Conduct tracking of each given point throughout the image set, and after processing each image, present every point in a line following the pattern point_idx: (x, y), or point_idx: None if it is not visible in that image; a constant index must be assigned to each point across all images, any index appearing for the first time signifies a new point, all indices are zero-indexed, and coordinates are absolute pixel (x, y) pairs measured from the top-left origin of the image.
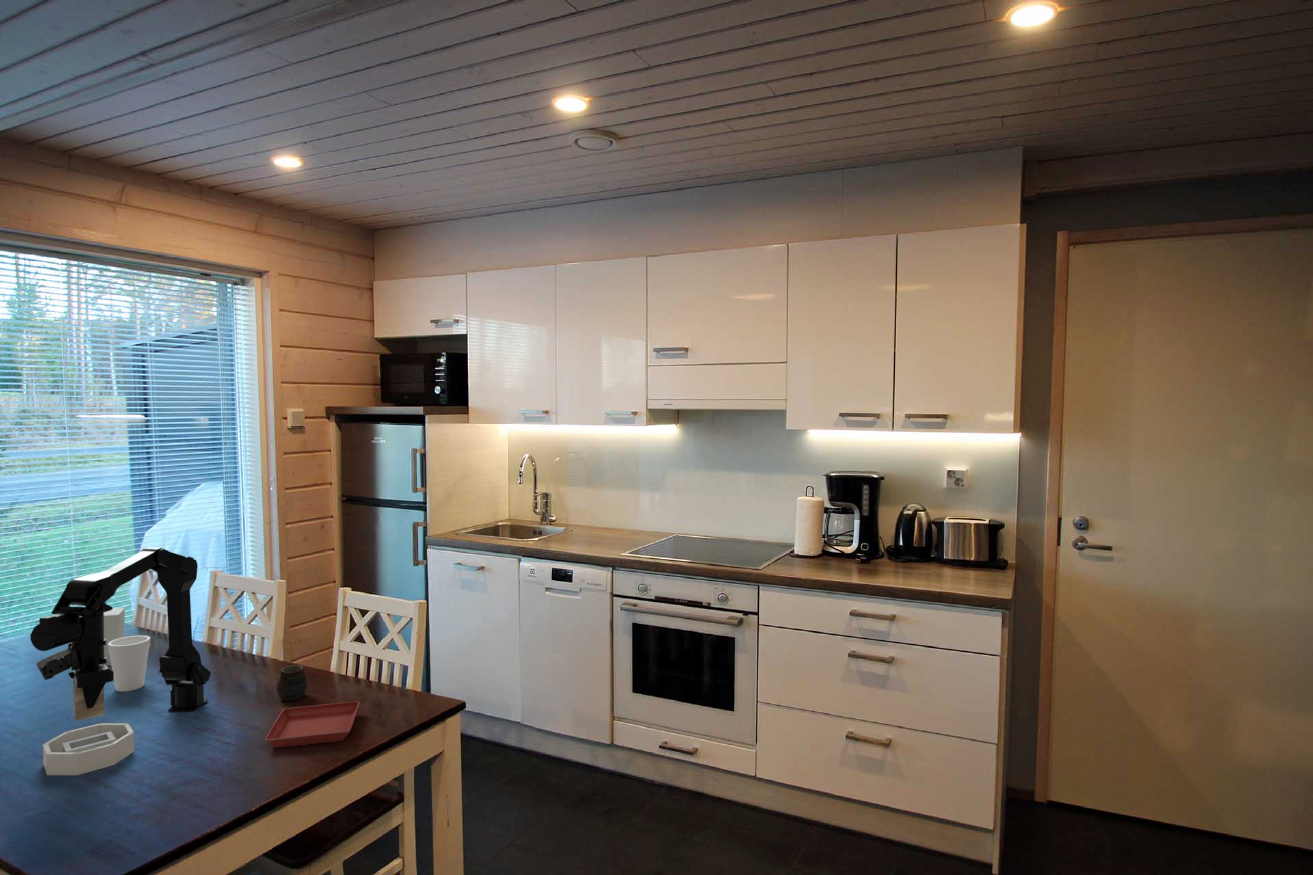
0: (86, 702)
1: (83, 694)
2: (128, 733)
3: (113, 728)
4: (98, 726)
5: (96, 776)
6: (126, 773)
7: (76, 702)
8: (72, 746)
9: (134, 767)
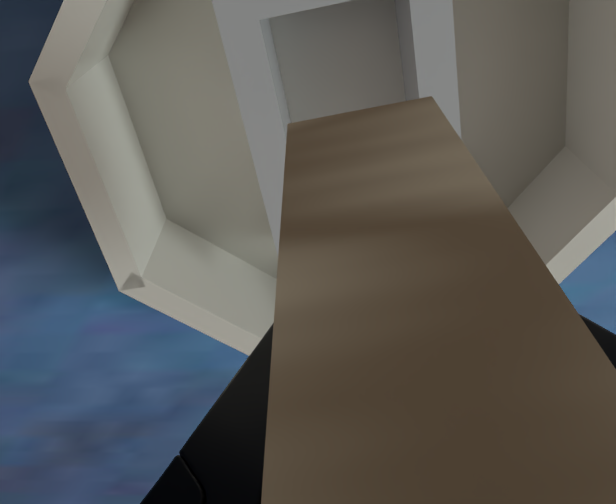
0: (241, 367)
1: (213, 463)
2: None
3: None
4: (611, 183)
5: (21, 147)
6: (4, 275)
7: (287, 258)
8: (406, 9)
9: (70, 304)
